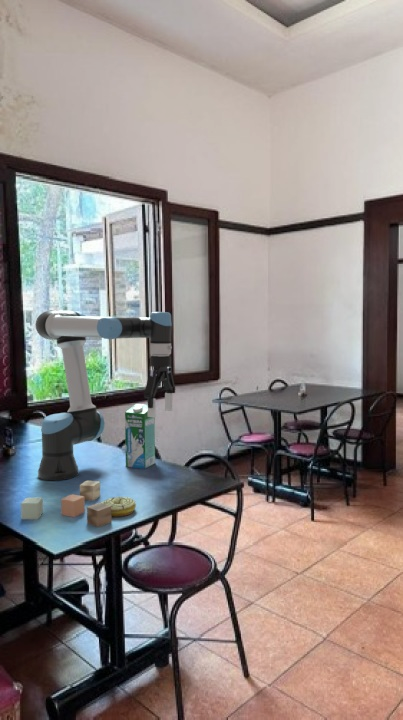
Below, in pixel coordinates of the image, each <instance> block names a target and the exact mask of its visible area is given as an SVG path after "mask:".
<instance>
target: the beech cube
mask: <svg viewBox="0 0 403 720" xmlns="http://www.w3.org/2000/svg"><path fill="white" fill-rule="evenodd" d="M79 496H84V497H85V501H95V500H96V499H98V498H99V497H101V481H98V480H97V481H95V480H85V481H83V482H82V483H80V484H79Z"/></svg>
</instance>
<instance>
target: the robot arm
mask: <svg viewBox="0 0 403 720" xmlns="http://www.w3.org/2000/svg"><path fill="white" fill-rule="evenodd" d="M149 315H150V316H149V317H141V316H139V317H138V316H130V317H129V316H122V317H121V316H86V315H85V314H84V313H83V312H81V311H76V310H46V311H44V312H43V311H42V313H40V314H39V315H38V317H37V318H36V321H35V325H34V326H35V330H36V332H37V334H38V335H39V336H40V337H42V338H43V339H46V340H51V341H53V340H55V341H56V344H57V346H58V347H59V348H60V349H61V352H62V358H63V365H64V372H65V379H66V387H67V391H68V400H69V408H68V410H67V412H60V413H53V414H49V415H47V416H45V417H44V418H42V421H41V427H40V429H41V430H40V431H41V447H42V448H41V449H42V450H41V452H42V456H41V460H40V463H39V468H38V469H37V477H38V478H39V479H41V480H44V481H63V480H68V479H72V478H74V477H75V478H76V477H77V476H78V475H79V466H78V464H77V461H76V459H75V454H74V446H75V445H78V444H82V443H87V442H92V441H93V440H96V439H99V437H101V436H102V434H103V433H104V430H105V423H106V422H105V419H104V415H102V413H101V412H99V411H98V410H97V405H95V404H93V402H92V397H91V390H90V385H89V382H90V381H89V377H88V370H87V364H86V357H85V356H86V355H85V350H84V346H85V343H86V342H87V339H86V338H96V339H97V338H99V339H105V340H106V339H107V340H116V339H118V340H119V339H137V338H138V339H150V340H149V341H150V342H149V344H150V346H149V347H150V348H149V355H150V356H149V365H150V366H151V367H153V368H152V369H149V370H148V376H147V379H146V380H147V382H146V386H145V390H144V393H143V397H144V399H147V404H148V417H155V418H156V400H157V399H156V398H155V397H156V394H157V391H158V388H159V387H160V386H159V385H160V384H161V383H162V385H163V388H164V389H165V393H164V411H168V412H172V411H173V394H175V393H176V385H175V381H174V376H173V369H172V357H171V354H172V348H173V347H172V326H173V324H172V314H171V313H170V312H167V311H166V312H165V311H163V312H162V311H152V312H150V314H149Z"/></svg>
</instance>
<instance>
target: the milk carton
mask: <svg viewBox="0 0 403 720" xmlns="http://www.w3.org/2000/svg"><path fill="white" fill-rule="evenodd" d="M155 418H156V416H155V417H148V403H147V404H145V403H135V404H134V405H132V406H131V407H130V408H128V409H127V410H126V411H125V412H124V425H125V426H124V428H125V429H124V430H125V432H124V436H125V441H124V443H125V446H124V447H125V467H127V468H133V469H134V468H135V469H143V470H145V469H147V468H149V467H151V466H153V465H154V464H156V434H155V433H156V432H155V431H156V430H155V429H156V426H155V420H156V419H155Z"/></svg>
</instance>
